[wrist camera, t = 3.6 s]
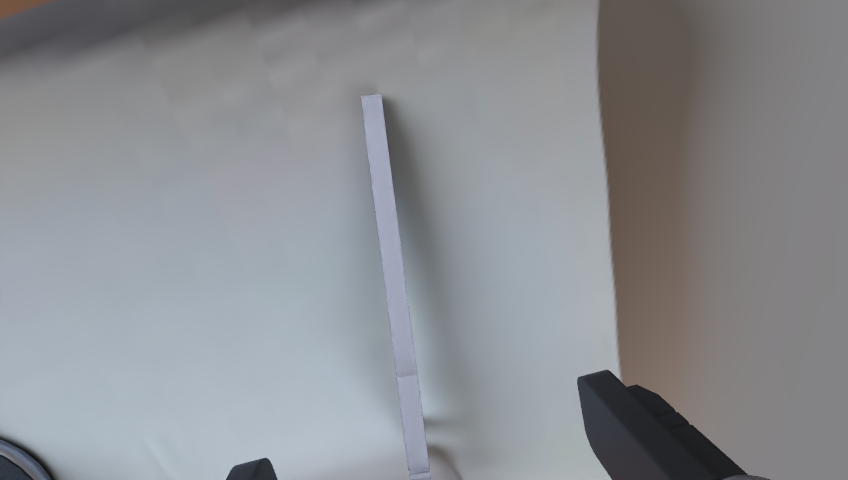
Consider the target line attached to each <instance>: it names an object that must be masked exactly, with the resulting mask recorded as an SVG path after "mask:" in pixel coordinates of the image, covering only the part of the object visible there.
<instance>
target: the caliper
mask: <svg viewBox="0 0 848 480" xmlns="http://www.w3.org/2000/svg"><path fill="white" fill-rule="evenodd" d="M361 99H362V108H363V116H364V119H363V120H364V128H365V136H366V143H367V151H368V159H369V166H370V174H371V182H372V189H373V197H374V205H375V212H376V220H377V228H378V235H379V243H380V251H381V258H382V266H383V274H384V281H385V289H386V296H387V304H388V312H389V319H390V327H391V335H392V342H393V350H394V358H395V365H396V373H397V374H396V375H397V384H398V392H399V400H400V408H401V415H402V423H403V431H404V438H405V446H406V454H407V462H408V469H409V472H410V480H431V475H430V467H429V459H428V451H427V444H426V436H425V428H424V420H423V414H422V406H421V398H420V390H419V382H418V375H417V367H416V359H415V352H414V344H413V336H412V329H411V321H410V313H409V306H408V298H407V290H406V282H405V275H404V267H403V259H402V251H401V244H400V236H399V228H398V220H397V213H396V205H395V197H394V190H393V182H392V174H391V166H390V159H389V151H388V143H387V135H386V128H385V120H384V113H383V105H382V97H381V94H376V95H367V96H361Z"/></svg>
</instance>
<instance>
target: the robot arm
mask: <svg viewBox="0 0 848 480" xmlns="http://www.w3.org/2000/svg"><path fill="white" fill-rule="evenodd" d="M577 384H578V390H579V396H580V402H581V408H582V414H583V420H584V426H585V431H586V435H587V438H588V440H589V443H590V445H591V447H592V450H593V452H594V453H595V455H596V457H597V458H598V460H599V461H600V462H601V464H602V465H603V467H604V468H605V470H606V471H607V473H608V474H609V476H610V477H611V479H612V480H770V479H766V478H762V477H758V476H752V475H748V474H747V473H745V472H744V471H743V470H742V469H741V468H740V467H739V466H738V465H736V464H735V463H734V462H733V461H732V460H731V459H730V458H729V457H728V456H726V455H725V454H724V453H723V452H722V451H721V450H720V449H719V448H717V447H716V446H715V445H714V444H713V443H712V442H711V441H710V440H708V439H707V438H706V437H705V436H704V435H703V434H702V433H701V432H699V431H698V430H697V429H696V428H695V427H694V426H693V425H690V424H689V422H688V421H687V420H686V419H685V418H684V417H683V416H682V415H680V414H679V413H678V412H675V410H674V408H673V407H671V406H670V405H669V404H668V403H667V402H666V401H665V400H664V399H662V398H661V397H660V396H659V395H658V394H656V393H654V392H651V391H649V390H647V389H645V388H643V387H641V386H638V385H633V386H629V387H626V386H625V385H624V384H623V383H622V382H621V381H620V380H619V379H618V378H617V377H616V376H615V375H614V374H613V373H611V372H610V371H609V370H604V371H600V372H596V373H592V374H588V375H585V376H581V377H578V380H577ZM0 480H52V479H51V478H50V476H49V475H48V474H47V472H46V471H45V470H44V469H43V468H42V466H41V465H40V464H39V463H38V462H37V461H35V460H34V459H33V458H32V457H31V456H29V455H28V454H27V453H25V452H24V451H22V450H21V449H19V448H17V447H15V446H14V445H12V444H10V443H7V442H5V441H3V440H0ZM226 480H277V477H276V474H275V472H274V469H273V466H272V464H271V462H270V460H269V459H267V458H263V459H259V460H255V461H251V462H247V463H243V464H240V465H236V466H234V467H233V468H232V470H231V471H230V473H229V475H228V477H227V479H226Z"/></svg>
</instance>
